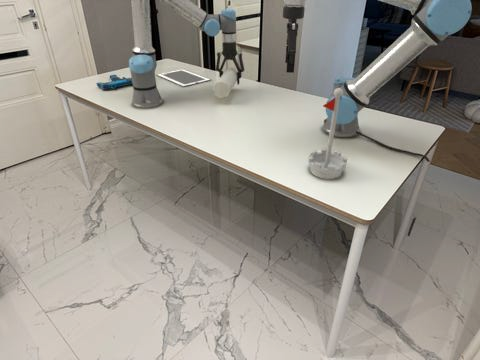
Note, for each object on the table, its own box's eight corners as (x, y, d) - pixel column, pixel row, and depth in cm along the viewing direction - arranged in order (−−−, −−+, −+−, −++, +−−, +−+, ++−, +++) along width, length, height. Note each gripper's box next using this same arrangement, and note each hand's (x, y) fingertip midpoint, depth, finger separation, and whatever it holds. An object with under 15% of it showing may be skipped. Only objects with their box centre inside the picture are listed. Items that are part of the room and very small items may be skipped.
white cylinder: (229, 98, 174) (229, 82, 169) (213, 97, 175) (212, 81, 171) (238, 83, 196) (238, 68, 191) (224, 82, 197) (223, 67, 193)
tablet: (156, 75, 222) (156, 74, 221) (183, 69, 233) (183, 69, 233) (183, 86, 201) (183, 86, 201) (210, 80, 212) (210, 79, 212)
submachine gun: (140, 68, 226) (159, 74, 209) (142, 73, 228) (160, 80, 211) (89, 77, 207) (104, 85, 190) (90, 84, 209) (106, 92, 192)
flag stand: (330, 158, 128) (344, 79, 112) (352, 176, 118) (370, 92, 102) (300, 165, 124) (309, 84, 108) (320, 183, 114) (333, 97, 98)
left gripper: (250, 40, 183) (249, 82, 195) (211, 39, 186) (213, 80, 198) (247, 43, 176) (247, 86, 189) (208, 42, 180) (210, 84, 192)
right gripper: (282, 1, 130) (279, 59, 141) (284, 10, 109) (280, 76, 120) (302, 2, 129) (297, 59, 141) (307, 10, 108) (301, 76, 120)
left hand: (230, 83), depth 193 cm, fingers closed on white cylinder, 8 cm apart
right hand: (289, 67), depth 131 cm, fingers open, 13 cm apart
